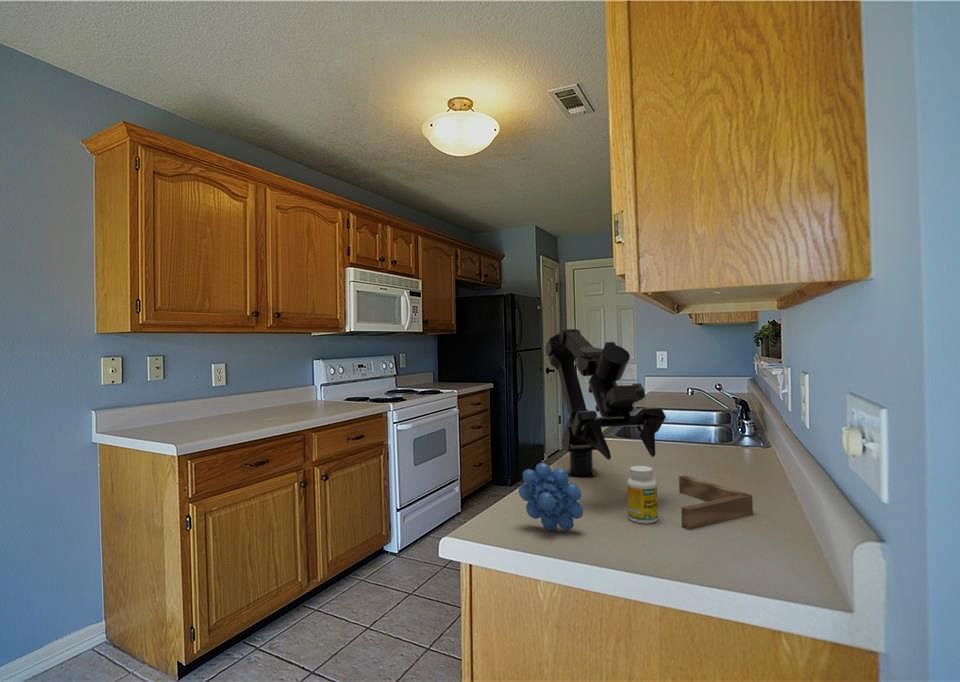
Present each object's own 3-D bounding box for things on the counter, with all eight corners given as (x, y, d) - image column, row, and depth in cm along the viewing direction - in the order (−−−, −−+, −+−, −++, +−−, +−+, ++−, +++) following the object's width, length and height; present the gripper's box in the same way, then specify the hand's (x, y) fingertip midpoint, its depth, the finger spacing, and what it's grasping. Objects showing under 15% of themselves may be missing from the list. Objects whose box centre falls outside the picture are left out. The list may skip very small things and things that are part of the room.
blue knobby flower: (513, 535, 86) (511, 467, 86) (523, 521, 92) (521, 458, 93) (579, 543, 82) (577, 471, 82) (585, 528, 88) (583, 461, 88)
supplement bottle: (640, 512, 96) (639, 463, 96) (664, 520, 91) (662, 468, 92) (621, 518, 93) (620, 467, 93) (645, 526, 88) (643, 473, 89)
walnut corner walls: (625, 503, 101) (624, 486, 101) (684, 491, 108) (684, 475, 108) (689, 529, 86) (688, 509, 86) (753, 513, 93) (752, 495, 93)
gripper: (574, 372, 100) (596, 435, 89) (659, 369, 103) (691, 430, 92) (563, 406, 108) (582, 468, 97) (643, 402, 111) (670, 462, 100)
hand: (631, 457), depth 96 cm, fingers open, 9 cm apart
